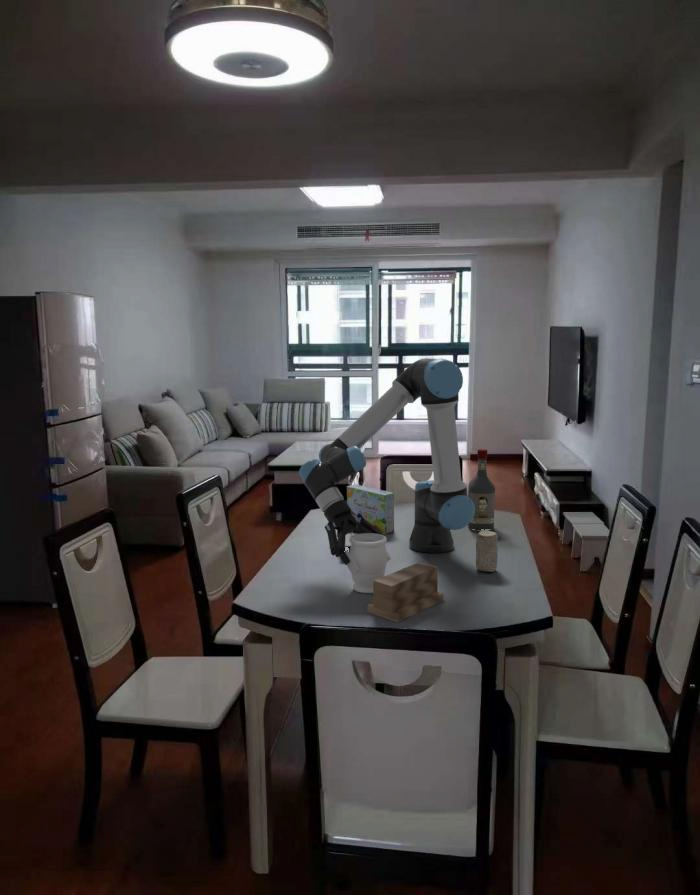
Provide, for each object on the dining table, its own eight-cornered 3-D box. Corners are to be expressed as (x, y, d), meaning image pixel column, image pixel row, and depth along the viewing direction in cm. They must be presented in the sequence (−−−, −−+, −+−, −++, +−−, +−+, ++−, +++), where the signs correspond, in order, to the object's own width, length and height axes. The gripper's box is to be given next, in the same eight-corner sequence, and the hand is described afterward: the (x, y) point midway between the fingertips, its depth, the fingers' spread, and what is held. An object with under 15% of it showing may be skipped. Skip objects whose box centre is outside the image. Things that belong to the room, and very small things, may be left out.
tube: (334, 528, 239) (337, 548, 215) (348, 523, 239) (353, 543, 215) (339, 542, 240) (343, 563, 215) (353, 537, 240) (358, 558, 215)
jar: (377, 580, 197) (378, 531, 194) (392, 592, 187) (392, 540, 185) (344, 585, 193) (343, 534, 191) (357, 597, 183) (357, 544, 181)
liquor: (466, 524, 258) (468, 448, 253) (490, 525, 257) (492, 448, 253) (470, 531, 249) (471, 451, 244) (494, 531, 248) (497, 451, 244)
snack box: (346, 523, 260) (345, 485, 258) (356, 521, 264) (356, 483, 262) (384, 534, 245) (384, 494, 243) (395, 531, 249) (395, 492, 246)
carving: (500, 569, 206) (501, 531, 204) (491, 575, 200) (492, 537, 198) (481, 565, 210) (482, 528, 208) (471, 572, 204) (472, 534, 202)
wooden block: (413, 591, 188) (414, 560, 186) (443, 600, 181) (444, 568, 180) (367, 612, 173) (367, 578, 172) (397, 622, 166) (398, 588, 165)
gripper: (355, 506, 207) (393, 563, 199) (296, 521, 188) (335, 585, 181) (368, 491, 202) (407, 549, 194) (309, 506, 184) (349, 570, 176)
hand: (372, 566), depth 187 cm, fingers open, 13 cm apart
